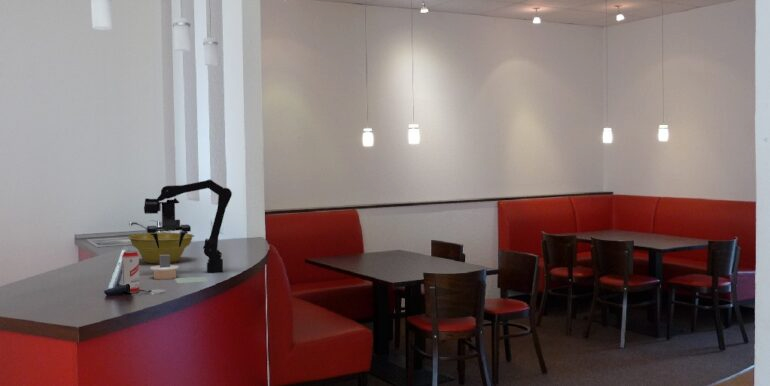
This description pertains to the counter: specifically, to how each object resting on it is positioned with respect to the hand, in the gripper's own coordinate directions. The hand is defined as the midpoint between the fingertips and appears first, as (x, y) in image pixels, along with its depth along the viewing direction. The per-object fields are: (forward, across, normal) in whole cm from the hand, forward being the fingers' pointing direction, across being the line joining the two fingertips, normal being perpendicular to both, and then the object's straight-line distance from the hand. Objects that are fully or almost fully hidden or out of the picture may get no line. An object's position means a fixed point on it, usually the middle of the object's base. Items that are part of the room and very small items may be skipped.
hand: (169, 247), depth 329 cm
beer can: (+12, -18, -42) cm, 47 cm away
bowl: (+12, -3, -13) cm, 18 cm away
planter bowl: (+12, 0, +43) cm, 45 cm away
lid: (+8, -3, -13) cm, 15 cm away
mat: (+12, +7, -24) cm, 28 cm away
